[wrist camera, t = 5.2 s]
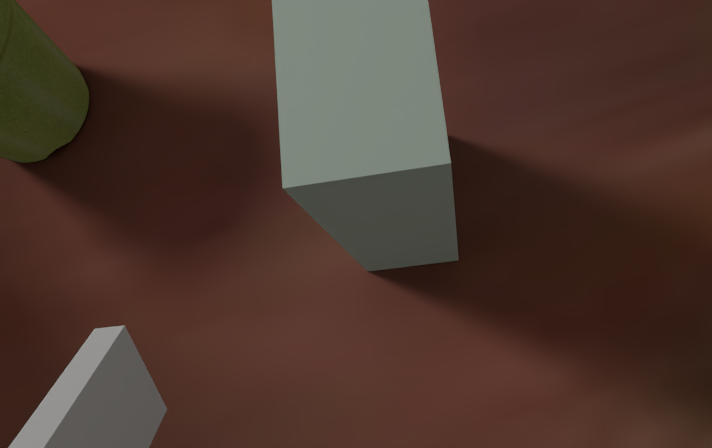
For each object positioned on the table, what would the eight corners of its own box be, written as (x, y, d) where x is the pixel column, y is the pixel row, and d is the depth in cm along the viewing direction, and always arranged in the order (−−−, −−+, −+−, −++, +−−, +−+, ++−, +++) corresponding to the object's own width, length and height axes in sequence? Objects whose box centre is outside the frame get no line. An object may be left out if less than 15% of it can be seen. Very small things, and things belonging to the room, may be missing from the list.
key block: (367, 271, 25) (282, 188, 13) (355, 146, 26) (270, -25, 15) (458, 260, 24) (451, 163, 13) (440, 132, 26) (419, -56, 14)
